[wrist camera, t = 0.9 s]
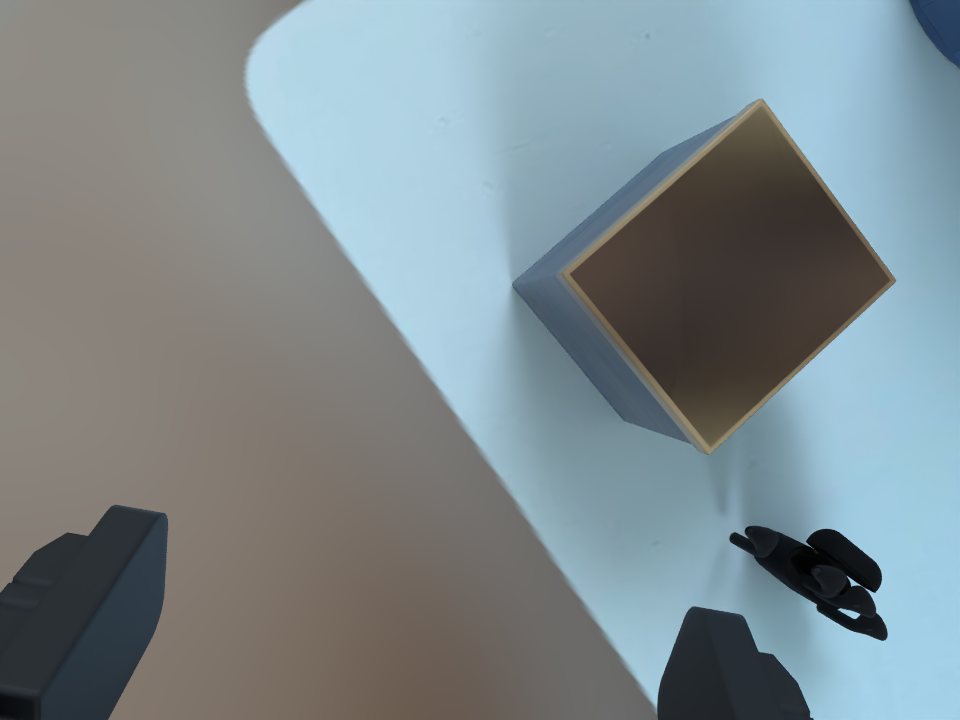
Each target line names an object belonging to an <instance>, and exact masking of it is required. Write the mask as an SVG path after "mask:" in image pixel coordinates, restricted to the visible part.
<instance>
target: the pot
mask: <svg viewBox="0 0 960 720" xmlns="http://www.w3.org/2000/svg"><path fill="white" fill-rule="evenodd" d="M910 2H911V5H912V7H913V9H914V12H915V14H916V16H917V18H918V20H919V22H920V24H921V25H922V27H923V29H924V30H925V32H926V33H927V35H928V36H929V38H930V39H931V40H932V41H933V43H934V44H935V45H936V47H937V48H938V49H939V50H940V51H941V52H942V53H943V54H944V55H945V56H946V57H947V58H948V59H949V60H950V61H951V62H953V63H954V64H955V65H957V66H958V67H959V68H960V0H910Z"/></svg>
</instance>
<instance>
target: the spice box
mask: <svg viewBox="0 0 960 720" xmlns="http://www.w3.org/2000/svg"><path fill="white" fill-rule="evenodd" d="M895 282H896V279H895V278H894V277H893V275H892V274H891V272H890V271H889V270H888V268H887V267H886V266H885V264H884V263H883V262H882V260H881V259H880V258H879V256H878V255H877V253H876V252H875V251H874V249H873V248H872V247H871V245H870V244H869V243H868V241H867V240H866V239H865V237H864V236H863V234H862V233H861V232H860V230H859V229H858V228H857V226H856V225H855V224H854V222H853V221H852V219H851V218H850V217H849V215H848V214H847V213H846V211H845V210H844V209H843V207H842V206H841V205H840V203H839V202H838V200H837V199H836V198H835V196H834V195H833V194H832V192H831V191H830V190H829V188H828V187H827V186H826V184H825V183H824V181H823V180H822V179H821V177H820V176H819V175H818V173H817V172H816V171H815V169H814V168H813V167H812V165H811V164H810V162H809V161H808V160H807V158H806V157H805V156H804V154H803V153H802V152H801V150H800V149H799V148H798V146H797V145H796V143H795V142H794V141H793V139H792V138H791V137H790V135H789V134H788V133H787V131H786V130H785V128H784V127H783V126H782V124H781V123H780V122H779V120H778V119H777V118H776V116H775V115H774V114H773V112H772V111H771V109H770V108H769V107H768V105H767V104H766V103H765V101H764V100H763V99H758V100H756V101H754V102H752V103H751V104H749V105H748V106H746V107H745V108H744V109H743V110H742V111H741V112H740V113H738V114H737V115H736V116H734V117H732V118H730V119H728V120H726V121H724V122H722V123H720V124H718V125H716V126H714V127H712V128H710V129H708V130H706V131H704V132H702V133H700V134H698V135H696V136H694V137H692V138H690V139H688V140H686V141H684V142H682V143H680V144H678V145H676V146H674V147H672V148H670V149H668V150H666V151H664V152H663V153H662V154H660V155H659V156H658V157H657V158H656V159H655V160H653V161H652V162H651V163H650V164H649V165H648V166H647V167H645V168H644V169H643V170H642V171H641V172H640V173H639V174H637V175H636V176H635V177H634V178H633V179H632V180H630V181H629V182H628V183H627V184H626V185H625V186H624V187H622V188H621V189H620V190H619V191H618V192H617V193H616V194H614V195H613V196H612V197H611V198H610V199H609V200H607V201H606V202H605V203H604V204H603V205H602V206H601V207H599V208H598V209H597V210H596V211H595V212H594V213H593V214H591V215H590V216H589V217H588V218H587V219H586V220H584V221H583V222H582V223H581V224H580V225H579V226H578V227H576V228H575V229H574V230H573V231H572V232H571V233H570V234H568V235H567V236H566V237H565V238H564V239H563V240H562V241H560V242H559V243H558V244H557V245H556V246H555V247H553V248H552V249H551V250H550V251H549V252H548V253H547V254H545V255H544V256H543V257H542V258H541V259H540V260H539V261H537V262H536V263H535V264H534V265H533V266H532V267H530V268H529V269H528V270H527V271H526V272H525V273H524V274H522V275H521V276H520V277H519V278H518V279H517V280H516V281H514V282H513V283H512V286H513V288H514V289H515V290H516V291H517V292H518V294H519V295H520V296H521V297H522V298H523V300H524V301H525V302H526V303H527V304H528V306H529V307H530V308H531V309H532V310H533V312H534V313H535V314H536V315H537V316H538V318H539V319H540V320H541V321H542V323H543V324H544V325H545V326H546V327H547V329H548V330H549V331H550V332H551V333H552V335H553V336H554V337H555V338H556V339H557V341H558V342H559V343H560V344H561V345H562V347H563V348H564V349H565V350H566V352H567V353H568V354H569V355H570V356H571V358H572V359H573V360H574V361H575V362H576V364H577V365H578V366H579V367H580V368H581V370H582V371H583V372H584V373H585V374H586V376H587V377H588V378H589V379H590V380H591V382H592V383H593V384H594V385H595V387H596V388H597V389H598V390H599V391H600V393H601V394H602V395H603V396H604V397H605V399H606V400H607V401H608V402H609V403H610V405H611V406H612V407H613V408H614V409H615V411H616V412H617V413H618V414H619V416H620V417H621V418H622V419H623V420H624V421H626V422H629V423H632V424H635V425H638V426H641V427H643V428H646V429H649V430H652V431H655V432H658V433H661V434H664V435H667V436H669V437H672V438H675V439H678V440H681V441H684V442H687V443H690V444H693V446H694V447H695V448H696V449H697V450H698V451H699V452H702V453H705V454H708V455H709V454H711V453H712V452H713V451H714V450H715V449H716V448H717V447H718V446H720V445H721V444H722V443H723V442H724V441H725V440H726V439H727V438H728V437H729V436H730V435H731V434H732V433H734V432H735V431H736V430H737V429H738V428H739V427H740V426H741V425H742V424H743V423H744V422H745V421H746V420H748V419H749V418H750V417H751V416H752V415H753V414H754V413H755V412H756V411H757V410H758V409H759V408H760V407H762V406H763V405H764V404H765V403H766V402H767V401H768V400H769V399H770V398H771V397H772V396H773V395H774V394H776V393H777V392H778V391H779V390H780V389H781V388H782V387H783V386H784V385H785V384H786V383H787V382H788V381H790V380H791V379H792V378H793V377H794V376H795V375H796V374H797V373H798V372H799V371H800V370H801V369H802V368H804V367H805V366H806V365H807V364H808V363H809V362H810V361H811V360H812V359H813V358H814V357H815V356H817V355H818V354H819V353H820V352H821V351H822V350H823V349H824V348H825V347H826V346H827V345H828V344H829V343H831V342H832V341H833V340H834V339H835V338H836V337H837V336H838V335H839V334H840V333H841V332H842V331H843V330H845V329H846V328H847V327H848V326H849V325H850V324H851V323H852V322H853V321H854V320H855V319H856V318H857V317H859V316H860V315H861V314H862V313H863V312H864V311H865V310H866V309H867V308H868V307H869V306H870V305H871V304H873V303H874V302H875V301H876V300H877V299H878V298H879V297H880V296H881V295H882V294H883V293H884V292H885V291H887V290H888V289H889V288H890V287H891V286H892V285H893V284H894V283H895Z"/></svg>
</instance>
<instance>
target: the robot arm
mask: <svg viewBox="0 0 960 720" xmlns="http://www.w3.org/2000/svg"><path fill="white" fill-rule="evenodd" d="M167 534H168V519H167V516H166V514H165V513H160V512H154V511H149V510H143V509H137V508H131V507H125V506H120V505H114V506H112V507H110V509H109V510H108V511H107V512H106V513H105V514H104V516H103V517H102V518H101V520H100V521H99V522H98V524H97V525H96V527H95V528H94V529H93V530H92V532H91V533H90V534H89V536H85V535H79V534H73V533H66V534H64V535H62V536H61V537H59V538H57V539H56V540H54V541H53V542H51V543H49V544H47V545H46V546H44V547H42V548H41V549H39V550H37V551H35V552H34V553H33V554H32V556H31V557H30V558H29V559H28V560H27V562H26V563H25V564H24V565H23V566H22V568H21V569H20V570H19V571H18V572H17V574H16V575H15V576H14V577H13V581H12V583H8V584H7V586H6V587H5V588H4V590H3V591H2V592H1V593H0V720H108V719H109V717H110V715H111V713H112V711H113V709H114V707H115V706H116V704H117V702H118V700H119V698H120V696H121V694H122V693H123V691H124V689H125V687H126V685H127V683H128V681H129V680H130V678H131V676H132V674H133V672H134V670H135V668H136V667H137V665H138V663H139V661H140V659H141V657H142V655H143V654H144V652H145V650H146V648H147V646H148V644H149V642H150V640H151V638H152V637H153V634H154V632H155V630H156V627H157V624H158V621H159V618H160V614H161V610H162V605H163V600H164V588H165V571H166V551H167ZM657 712H658V720H814V719H813V718H810V710H809V708H808V706H807V703H806V701H805V699H804V697H803V694H802V692H801V690H800V687H799V685H798V683H797V682H796V680H795V679H794V678H793V677H792V676H791V675H790V674H789V672H788V671H787V670H786V669H785V668H784V667H783V665H782V664H781V663H780V662H779V661H778V660H777V659H776V657H775V656H774V655H773V654H767V653H762V652H758V650H757V647H756V645H755V642H754V640H753V637H752V634H751V632H750V629H749V627H748V624H747V622H746V620H745V618H744V617H743V616H742V615H740V614H735V613H729V612H724V611H718V610H712V609H706V608H700V607H695V606H694V607H691V608H690V609H689V610H688V612H687V613H686V616H685V618H684V620H683V623H682V626H681V628H680V631H679V634H678V636H677V639H676V642H675V644H674V647H673V650H672V652H671V655H670V658H669V660H668V663H667V666H666V668H665V671H664V674H663V676H662V679H661V683H660V687H659V693H658V704H657Z"/></svg>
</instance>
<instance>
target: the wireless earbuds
mask: <svg viewBox="0 0 960 720" xmlns="http://www.w3.org/2000/svg"><path fill="white" fill-rule="evenodd" d="M745 534H746V536H747V537H748V538H749V539H748V538H746V537H744V536H742V535H740V534H738V533H736V532H734V533H732V534H731V535H730V538H729V540H730V542H731V543H733V544H734V545H736V546H738V547H740V548H741V549H743V550H745V551H747V552H749V553H750V554H752V555H754V557H755V559H756V561H757V562H758V563H759V564H760V565H761V566H762V567H764V568H765V569H766V570H767V571H769V572H770V573H771V574H772V575H774V576H775V577H776V578H778V579H779V580H780V581H781V582H783V583H784V584H785V585H786V586H788V587H789V588H790V589H792V590H793V591H795V592H797V593H798V594H800V595H802V596H803V597H805V598H807V599H808V600H810V601H812V602H814V603H815V604H817V607H816V608H817V611H818V612H820V613H821V614H823V615H825V616H826V617H828V618H830V619H831V620H833V621H835V622H836V623H838V624H840V625H841V626H843V627H845V628H847V629H849V630H851V631H854V632H858V633H862V634H866V635H869V636H871V637H873V638H876V639H878V640H881V641H884V640H886V639H887V635H888V633H887V628H886V626H885V624H884V622H883V620H882V618H881V617H880V616H879V615H878V614H877V613H876V607H875V604H874V601H873V599H872V597H871V595H870V594H869V593H868V591H867V590H866V589H868V590H870V591H872V592H874V593H876V591H877V590H878V589H879V587H880V585H881V581H882V574H881V570H880V568H879V566H878V565H877V563H876V562H875V561H874V560H873V559H871V558H870V557H869V556H868V555H866V554H865V553H864V552H863V551H862V550H860V549H859V548H858V547H857V546H855V545H854V544H853V543H852V542H851V541H849V540H848V539H847V538H846V537H844V536H843V535H842V534H841V533H839V532H837V531H835V530H832V529H821V530H818V531H816V532H814V533H813V534H811V535H810V537H809V538H808V539H807V541H806V542H807V543H808V544H809V545H810V546H811V547H812V548H811V547H809V546H807V545H805V544H803V543H801V542H798V541H796V540H794V539H792V538H790V537H788V536H786V535H784V534H782V533H779V532H776V531H773V530H771V529H769V528H765V527H760V526H749V527H747V528H746V529H745ZM815 550H816V551H815ZM847 576H848V577H849V578H851V579H852V580H854V581H855V582H857V583H858V584H860V585H861V586H852V587H851V583H850V581H849V579H848V577H847ZM862 586H863V587H864V588H866V589H864V588H863V587H862ZM839 608H842V609H846V610H851V611H854V612H857V613H859V614H860V616H859V617H858V618H857V619H853V618H851V617H849V616H847V615H846V614H844V613H842V612H840V611H839V610H837V609H839Z"/></svg>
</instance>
